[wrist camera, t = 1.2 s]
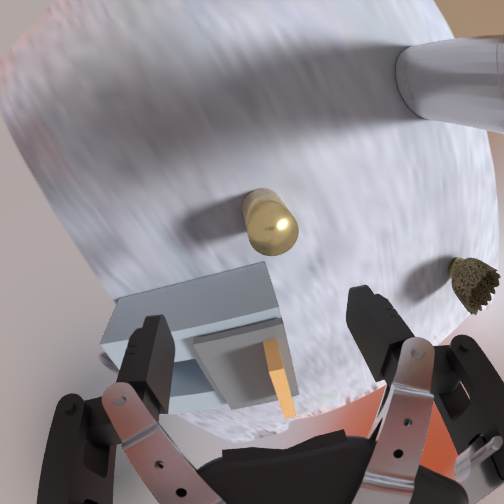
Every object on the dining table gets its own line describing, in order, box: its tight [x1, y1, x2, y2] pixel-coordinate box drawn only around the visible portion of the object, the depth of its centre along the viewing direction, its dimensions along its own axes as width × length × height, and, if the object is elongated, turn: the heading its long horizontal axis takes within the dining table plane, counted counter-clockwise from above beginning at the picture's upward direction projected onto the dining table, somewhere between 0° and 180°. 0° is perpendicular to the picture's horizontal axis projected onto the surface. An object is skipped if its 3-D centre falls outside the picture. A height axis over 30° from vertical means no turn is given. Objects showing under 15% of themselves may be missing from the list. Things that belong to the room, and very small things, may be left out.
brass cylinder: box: [242, 188, 299, 256], centre depth 25 cm, size 4×4×6 cm
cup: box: [448, 258, 500, 315], centre depth 31 cm, size 8×7×8 cm
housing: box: [100, 261, 281, 415], centre depth 30 cm, size 18×14×8 cm
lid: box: [193, 318, 299, 419], centre depth 24 cm, size 8×12×4 cm, turn 13°
